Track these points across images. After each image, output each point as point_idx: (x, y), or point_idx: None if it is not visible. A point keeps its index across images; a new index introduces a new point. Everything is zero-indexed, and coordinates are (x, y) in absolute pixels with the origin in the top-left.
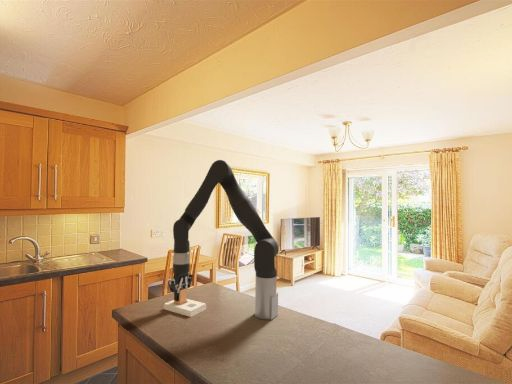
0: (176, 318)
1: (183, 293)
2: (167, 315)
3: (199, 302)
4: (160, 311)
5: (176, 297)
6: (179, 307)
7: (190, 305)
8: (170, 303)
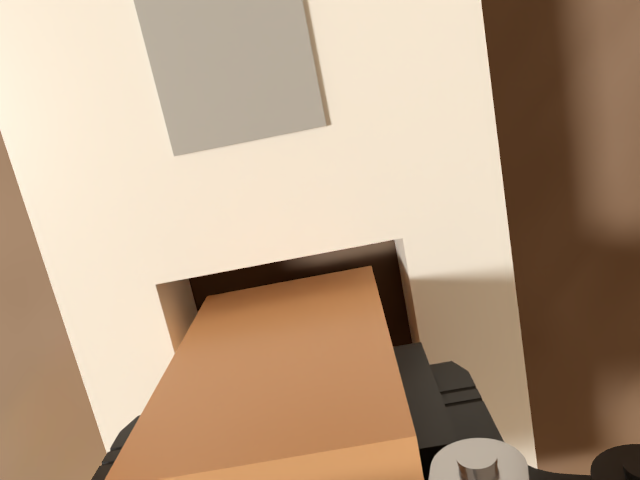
0: (612, 7)
1: (277, 396)
2: (621, 229)
3: (7, 81)
4: (587, 434)
5: (476, 394)
6: (483, 157)
7: (261, 70)
8: None
